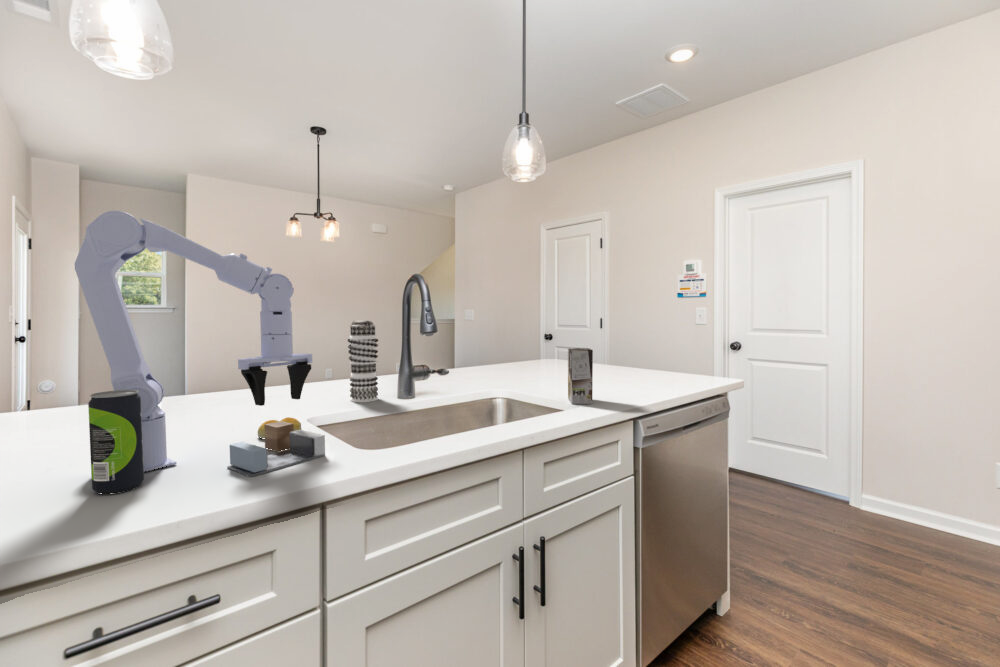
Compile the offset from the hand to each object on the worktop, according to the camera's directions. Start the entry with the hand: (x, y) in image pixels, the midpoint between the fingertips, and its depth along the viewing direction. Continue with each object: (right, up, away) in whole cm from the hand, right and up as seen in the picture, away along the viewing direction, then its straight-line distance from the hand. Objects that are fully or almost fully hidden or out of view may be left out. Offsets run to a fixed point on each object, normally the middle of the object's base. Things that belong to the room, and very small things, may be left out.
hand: (278, 401), depth 93 cm
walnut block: (0, -10, 0) cm, 10 cm away
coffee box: (+69, -7, +48) cm, 84 cm away
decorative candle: (+2, -7, +53) cm, 54 cm away
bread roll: (-4, -10, +10) cm, 15 cm away
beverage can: (-15, -11, -21) cm, 28 cm away
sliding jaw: (+1, -10, -13) cm, 16 cm away
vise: (+4, -10, -8) cm, 13 cm away
